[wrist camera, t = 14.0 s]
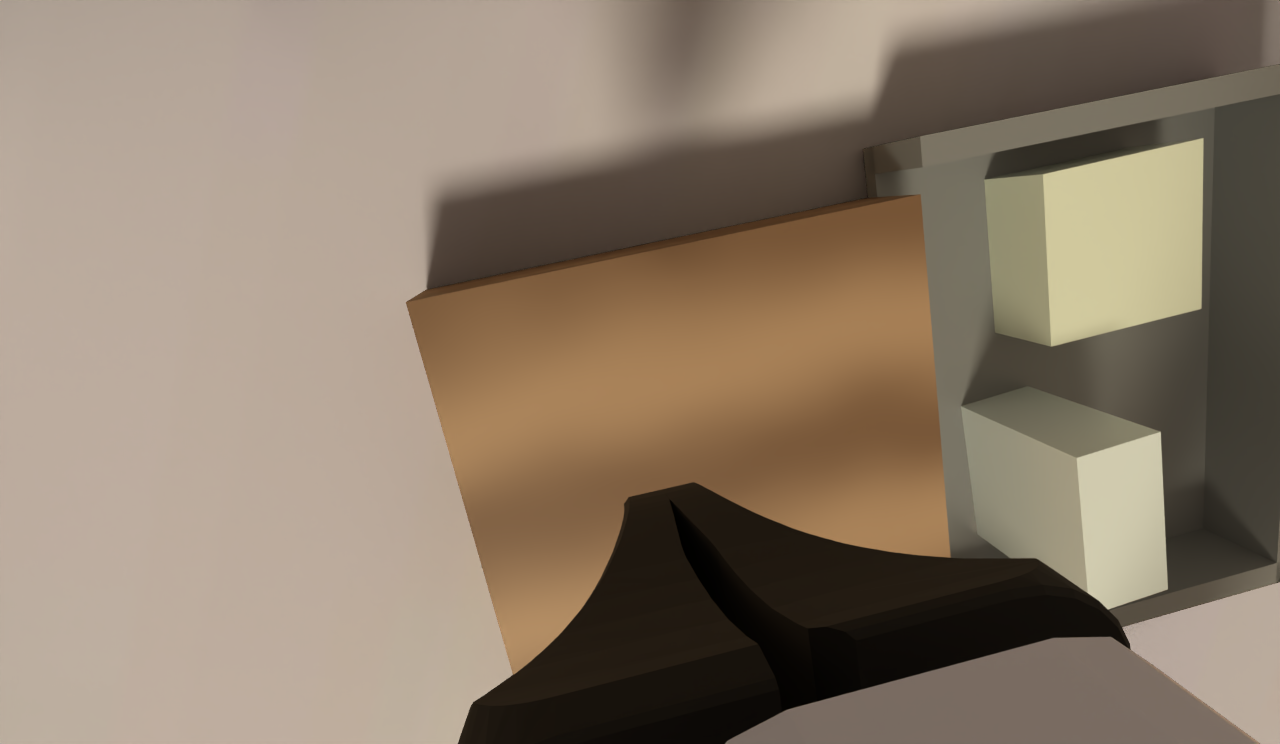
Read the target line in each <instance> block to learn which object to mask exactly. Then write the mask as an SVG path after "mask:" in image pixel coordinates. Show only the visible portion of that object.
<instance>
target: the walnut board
mask: <svg viewBox="0 0 1280 744" xmlns="http://www.w3.org/2000/svg"><path fill="white" fill-rule="evenodd" d="M406 304H407V308H408V311H409V315H410V318H411V322H412V325H413V329H414V332H415V336H416V339H417V343H418V346H419V350H420V353H421V356H422V360H423V363H424V367H425V370H426V374H427V377H428V381H429V384H430V388H431V391H432V395H433V398H434V402H435V405H436V409H437V412H438V415H439V419H440V422H441V426H442V429H443V433H444V436H445V440H446V443H447V447H448V450H449V454H450V457H451V461H452V464H453V467H454V471H455V474H456V478H457V481H458V485H459V488H460V492H461V495H462V499H463V502H464V506H465V509H466V513H467V516H468V520H469V523H470V526H471V530H472V533H473V537H474V540H475V544H476V547H477V551H478V554H479V558H480V561H481V565H482V568H483V572H484V575H485V578H486V582H487V585H488V589H489V592H490V596H491V599H492V603H493V606H494V610H495V613H496V617H497V620H498V624H499V627H500V631H501V634H502V637H503V641H504V644H505V648H506V651H507V655H508V658H509V662H510V665H511V669H512V672H513V675H514V674H515V673H517V672H518V671H519V670H521V669H522V668H523V667H524V666H526V665H527V664H528V663H529V662H530V661H532V660H533V659H534V658H535V657H536V656H537V655H538V654H540V653H541V652H542V651H543V650H544V649H545V648H546V647H547V646H548V645H549V644H550V643H551V642H552V641H553V640H554V639H555V638H557V637H558V636H559V634H560V633H561V632H562V631H563V630H564V629H565V628H566V627H567V625H568V624H569V623H570V622H571V621H572V620H573V618H574V617H575V616H576V615H577V614H578V612H579V611H580V610H581V609H582V607H583V606H584V604H585V603H586V601H587V600H588V598H589V597H590V595H591V594H592V592H593V590H594V589H595V587H596V585H597V583H598V582H599V580H600V578H601V576H602V574H603V572H604V570H605V568H606V565H607V563H608V561H609V559H610V557H611V555H612V552H613V550H614V547H615V544H616V541H617V538H618V535H619V532H620V529H621V525H622V521H623V516H624V503H625V502H626V500H627V499H628V497H631V496H635V495H640V494H644V493H648V492H653V491H657V490H662V489H666V488H670V487H675V486H679V485H683V484H688V483H692V482H695V483H697V484H700V485H702V486H704V487H705V488H707V489H709V490H711V491H713V492H715V493H717V494H719V495H720V496H722V497H724V498H726V499H728V500H730V501H732V502H734V503H736V504H738V505H740V506H742V507H744V508H746V509H748V510H750V511H752V512H754V513H757V514H759V515H761V516H763V517H766V518H768V519H770V520H773V521H775V522H778V523H781V524H783V525H786V526H788V527H791V528H793V529H796V530H799V531H802V532H805V533H808V534H812V535H816V536H819V537H823V538H826V539H830V540H833V541H837V542H841V543H845V544H850V545H855V546H860V547H865V548H871V549H877V550H883V551H888V552H895V553H904V554H912V555H922V556H935V557H949V558H951V557H950V544H949V532H948V520H947V508H946V496H945V484H944V471H943V459H942V447H941V435H940V423H939V411H938V399H937V386H936V374H935V362H934V350H933V338H932V326H931V314H930V301H929V289H928V277H927V265H926V253H925V241H924V228H923V216H922V204H921V194H917V195H902V196H887V197H871V198H864V199H859V200H855V201H850V202H845V203H840V204H835V205H831V206H826V207H821V208H816V209H811V210H807V211H802V212H797V213H792V214H787V215H783V216H778V217H773V218H768V219H763V220H759V221H754V222H749V223H744V224H739V225H735V226H730V227H725V228H720V229H715V230H711V231H706V232H701V233H696V234H692V235H687V236H682V237H677V238H672V239H668V240H663V241H658V242H653V243H648V244H644V245H639V246H634V247H629V248H624V249H620V250H615V251H610V252H605V253H600V254H596V255H591V256H586V257H581V258H576V259H572V260H567V261H562V262H557V263H552V264H548V265H543V266H538V267H533V268H528V269H524V270H519V271H514V272H509V273H504V274H500V275H495V276H490V277H485V278H480V279H476V280H471V281H466V282H461V283H456V284H452V285H447V286H442V287H437V288H432V289H428V290H425V291H423V292H422V293H420V294H418V295H417V296H415V297H414V298H412V299H410V300H409V301H407V302H406Z"/></svg>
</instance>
